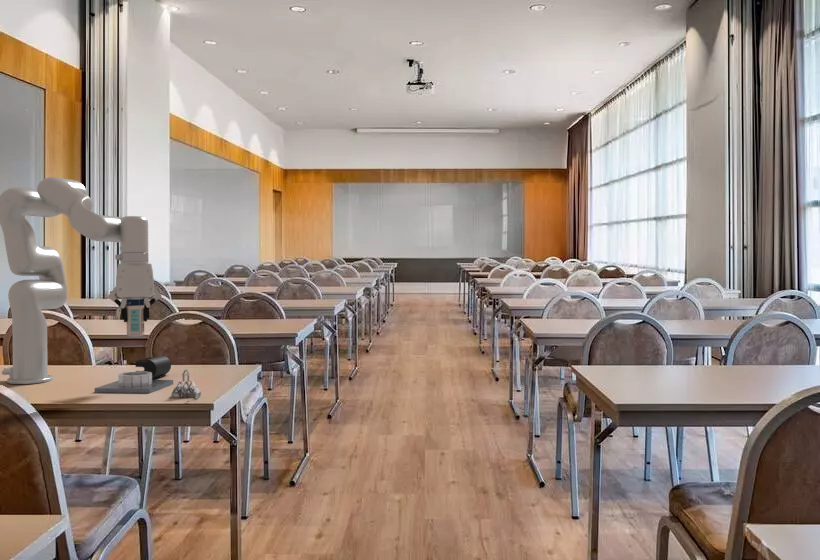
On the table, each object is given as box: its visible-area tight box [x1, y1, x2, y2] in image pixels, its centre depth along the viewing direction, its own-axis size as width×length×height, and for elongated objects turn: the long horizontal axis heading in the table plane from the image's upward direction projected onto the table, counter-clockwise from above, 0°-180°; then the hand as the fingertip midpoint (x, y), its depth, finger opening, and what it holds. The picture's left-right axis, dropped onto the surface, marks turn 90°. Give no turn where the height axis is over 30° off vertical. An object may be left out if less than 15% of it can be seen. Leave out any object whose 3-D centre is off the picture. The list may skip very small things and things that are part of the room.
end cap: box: [134, 355, 172, 380], centre depth 222 cm, size 10×7×7 cm
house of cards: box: [171, 368, 202, 403], centre depth 189 cm, size 9×9×8 cm
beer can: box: [125, 298, 145, 338], centre depth 204 cm, size 5×5×12 cm
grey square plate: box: [93, 370, 174, 394], centre depth 204 cm, size 16×16×4 cm
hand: (135, 320), depth 204 cm, fingers closed on beer can, 4 cm apart
